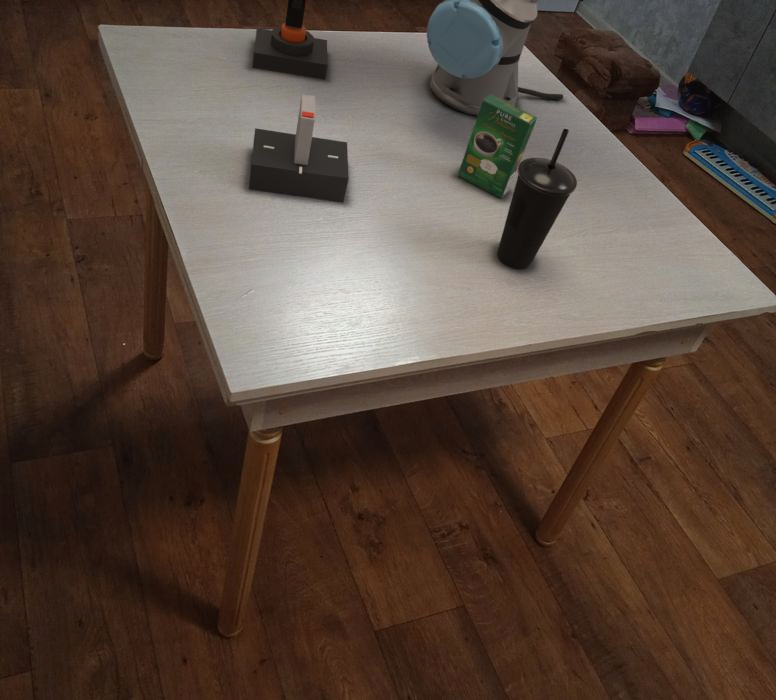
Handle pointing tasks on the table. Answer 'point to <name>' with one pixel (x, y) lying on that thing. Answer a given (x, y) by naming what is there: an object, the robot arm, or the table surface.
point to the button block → (290, 54)
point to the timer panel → (299, 167)
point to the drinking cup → (534, 207)
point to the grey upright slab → (304, 129)
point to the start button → (293, 33)
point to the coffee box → (496, 145)
